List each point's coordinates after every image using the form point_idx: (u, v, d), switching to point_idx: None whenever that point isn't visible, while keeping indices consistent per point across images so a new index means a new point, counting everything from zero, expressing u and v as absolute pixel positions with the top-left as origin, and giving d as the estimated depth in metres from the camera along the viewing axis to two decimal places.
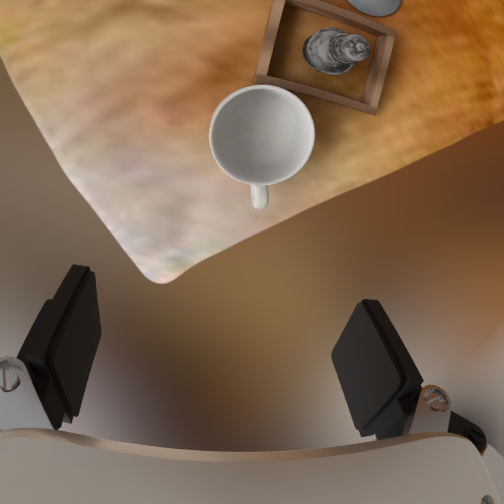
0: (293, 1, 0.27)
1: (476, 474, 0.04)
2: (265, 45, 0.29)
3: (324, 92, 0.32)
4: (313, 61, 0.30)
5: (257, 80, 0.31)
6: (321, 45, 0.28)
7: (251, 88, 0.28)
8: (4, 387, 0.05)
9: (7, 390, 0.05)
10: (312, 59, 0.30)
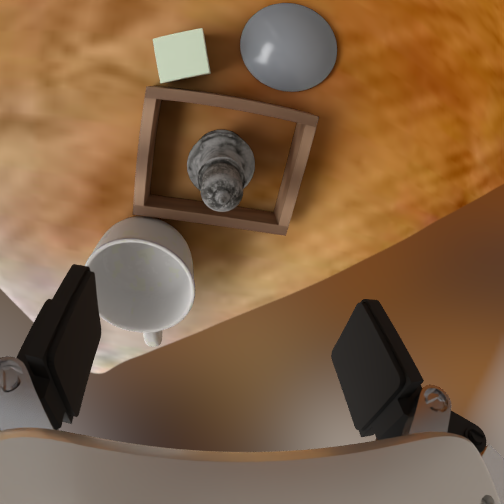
0: None
1: (476, 474, 0.04)
2: (137, 169, 0.26)
3: (215, 217, 0.30)
4: (195, 184, 0.27)
5: (134, 212, 0.28)
6: (200, 165, 0.25)
7: (112, 244, 0.25)
8: (4, 387, 0.05)
9: (7, 390, 0.05)
10: (194, 181, 0.27)
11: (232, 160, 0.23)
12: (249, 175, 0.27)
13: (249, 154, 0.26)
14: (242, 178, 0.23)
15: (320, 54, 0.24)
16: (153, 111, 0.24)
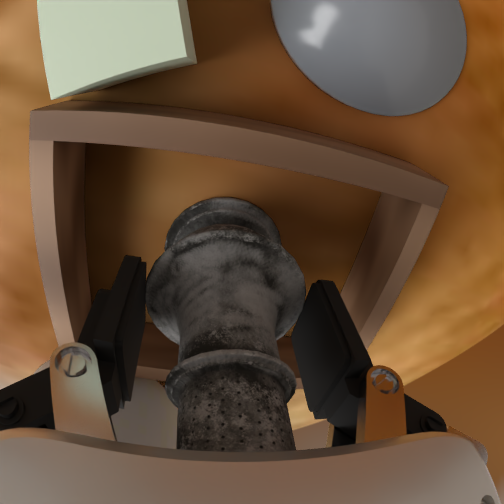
0: None
1: (476, 474, 0.04)
2: (48, 296, 0.11)
3: None
4: (170, 337, 0.12)
5: None
6: (175, 314, 0.10)
7: None
8: (68, 371, 0.06)
9: (70, 375, 0.06)
10: (167, 333, 0.12)
11: (264, 360, 0.07)
12: (291, 319, 0.12)
13: (295, 280, 0.11)
14: (288, 391, 0.08)
15: (441, 41, 0.09)
16: (52, 173, 0.09)
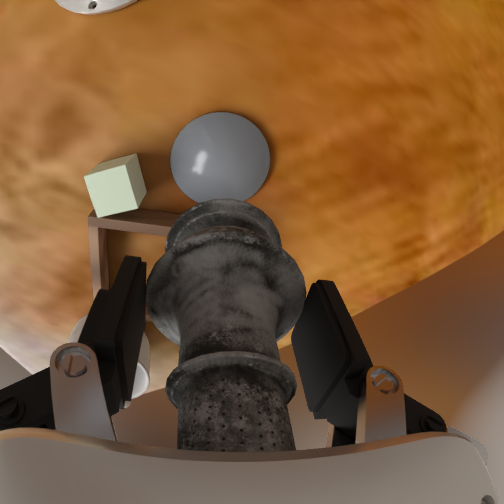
0: None
1: (476, 474, 0.04)
2: (93, 281, 0.30)
3: None
4: (170, 338, 0.12)
5: None
6: (176, 316, 0.10)
7: None
8: (68, 371, 0.06)
9: (70, 375, 0.06)
10: (167, 334, 0.12)
11: (264, 361, 0.07)
12: (292, 320, 0.12)
13: (295, 281, 0.11)
14: (289, 392, 0.08)
15: (251, 166, 0.28)
16: (97, 237, 0.27)
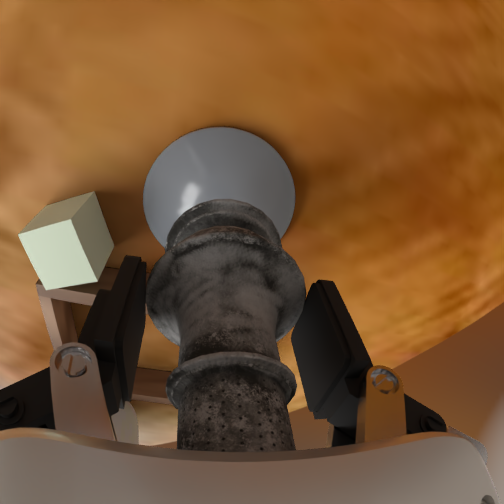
0: None
1: (476, 474, 0.04)
2: None
3: (149, 397, 0.24)
4: (170, 338, 0.12)
5: None
6: (176, 316, 0.10)
7: None
8: (68, 371, 0.06)
9: (70, 375, 0.06)
10: (167, 334, 0.12)
11: (264, 362, 0.07)
12: (292, 320, 0.12)
13: (295, 282, 0.11)
14: (289, 393, 0.08)
15: (267, 211, 0.19)
16: (52, 309, 0.18)
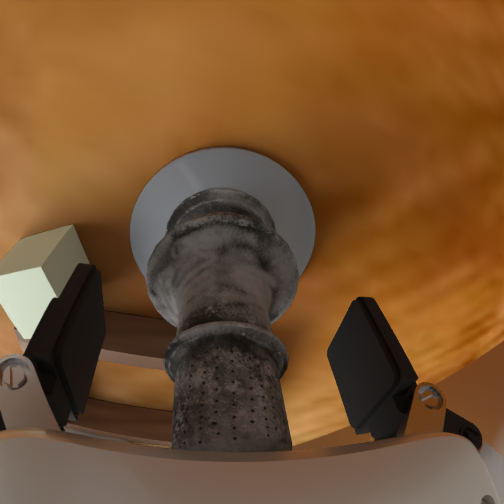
0: None
1: (476, 474, 0.04)
2: None
3: (147, 440, 0.21)
4: (169, 320, 0.12)
5: None
6: (175, 295, 0.11)
7: None
8: (11, 385, 0.05)
9: (13, 388, 0.05)
10: (166, 316, 0.12)
11: (256, 331, 0.08)
12: (286, 302, 0.13)
13: (288, 263, 0.12)
14: (281, 365, 0.09)
15: None
16: None
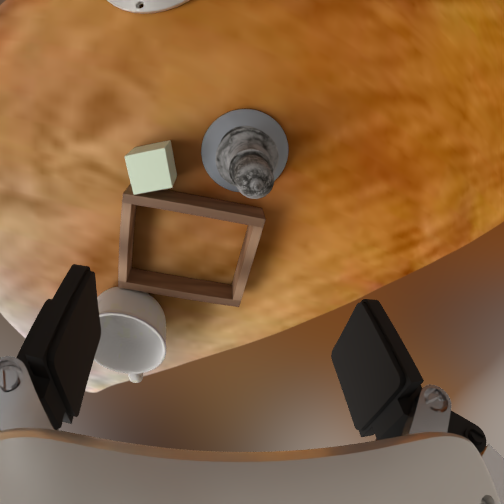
0: None
1: (476, 474, 0.04)
2: (119, 255, 0.33)
3: (182, 293, 0.37)
4: (222, 174, 0.29)
5: (119, 285, 0.35)
6: (229, 157, 0.27)
7: (102, 315, 0.32)
8: (4, 387, 0.05)
9: (7, 390, 0.05)
10: (221, 172, 0.29)
11: (262, 153, 0.24)
12: (273, 169, 0.29)
13: (274, 149, 0.28)
14: (270, 170, 0.25)
15: None
16: (129, 213, 0.31)
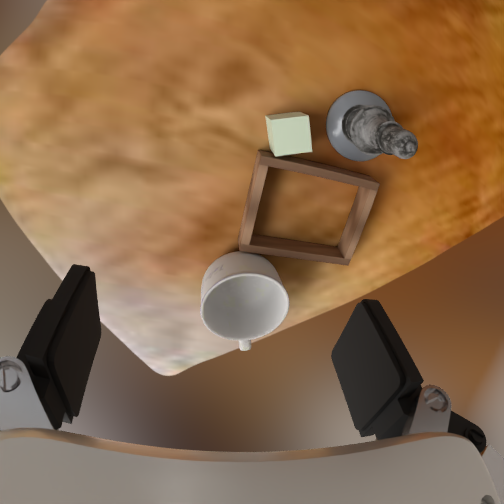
0: None
1: (476, 474, 0.04)
2: (247, 217, 0.37)
3: (302, 253, 0.40)
4: (355, 142, 0.32)
5: (241, 249, 0.39)
6: (364, 127, 0.30)
7: (234, 277, 0.35)
8: (4, 387, 0.05)
9: (7, 390, 0.05)
10: (354, 140, 0.32)
11: (399, 125, 0.27)
12: None
13: None
14: None
15: None
16: (265, 175, 0.34)
